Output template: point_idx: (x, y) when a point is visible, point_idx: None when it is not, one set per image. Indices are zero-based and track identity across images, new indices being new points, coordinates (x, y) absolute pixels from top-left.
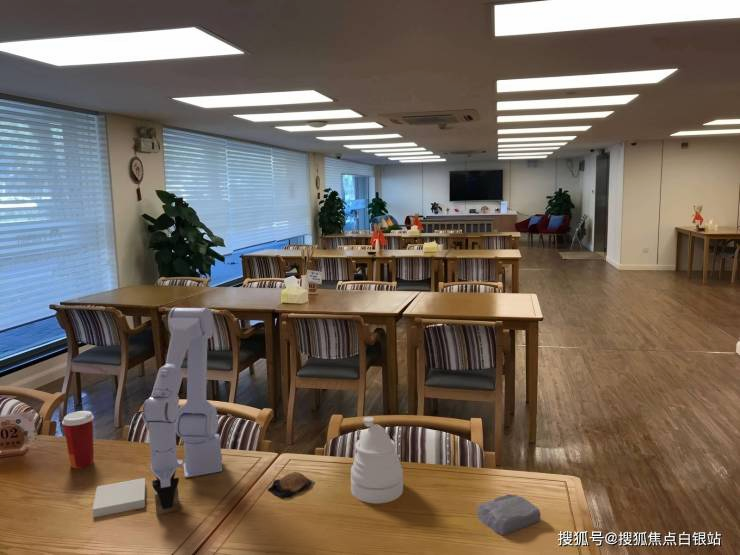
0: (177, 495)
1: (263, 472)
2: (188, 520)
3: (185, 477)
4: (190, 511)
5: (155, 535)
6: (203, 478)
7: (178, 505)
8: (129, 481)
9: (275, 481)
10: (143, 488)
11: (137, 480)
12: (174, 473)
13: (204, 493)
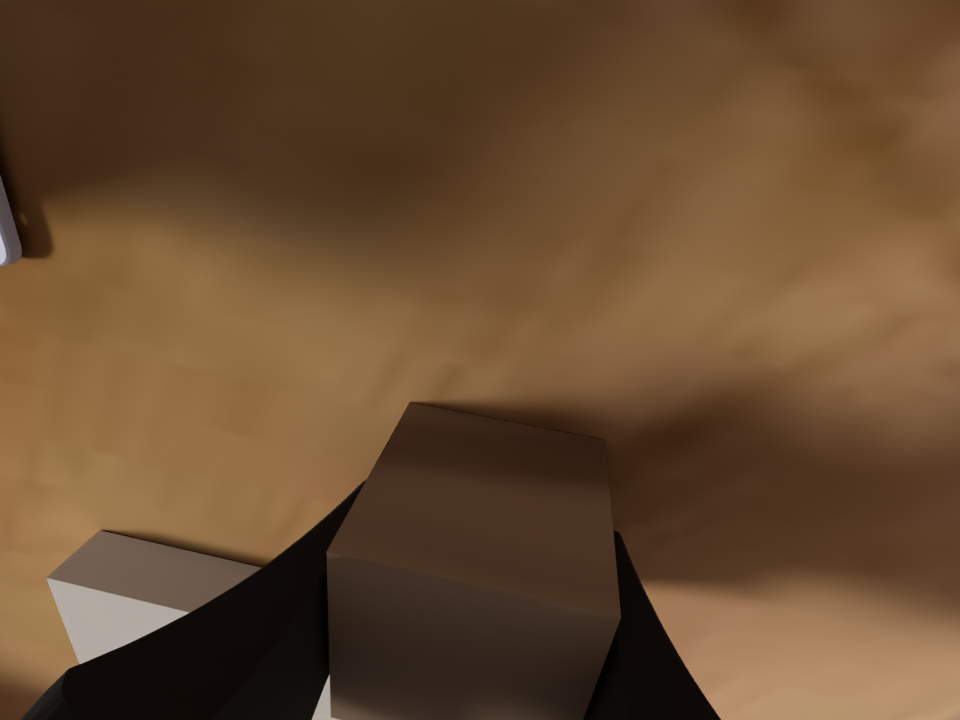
0: (613, 564)
1: None
2: (852, 420)
3: (19, 259)
4: (694, 365)
5: (860, 648)
6: (47, 72)
7: (606, 474)
8: (86, 653)
9: None
10: None
11: (80, 620)
12: (266, 666)
13: (399, 143)
